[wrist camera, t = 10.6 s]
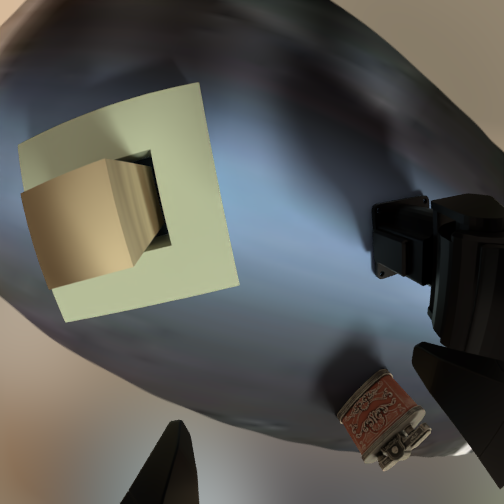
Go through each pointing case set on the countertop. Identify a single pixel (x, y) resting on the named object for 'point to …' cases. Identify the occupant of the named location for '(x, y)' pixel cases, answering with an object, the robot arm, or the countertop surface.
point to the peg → (92, 220)
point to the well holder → (170, 189)
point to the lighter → (383, 421)
